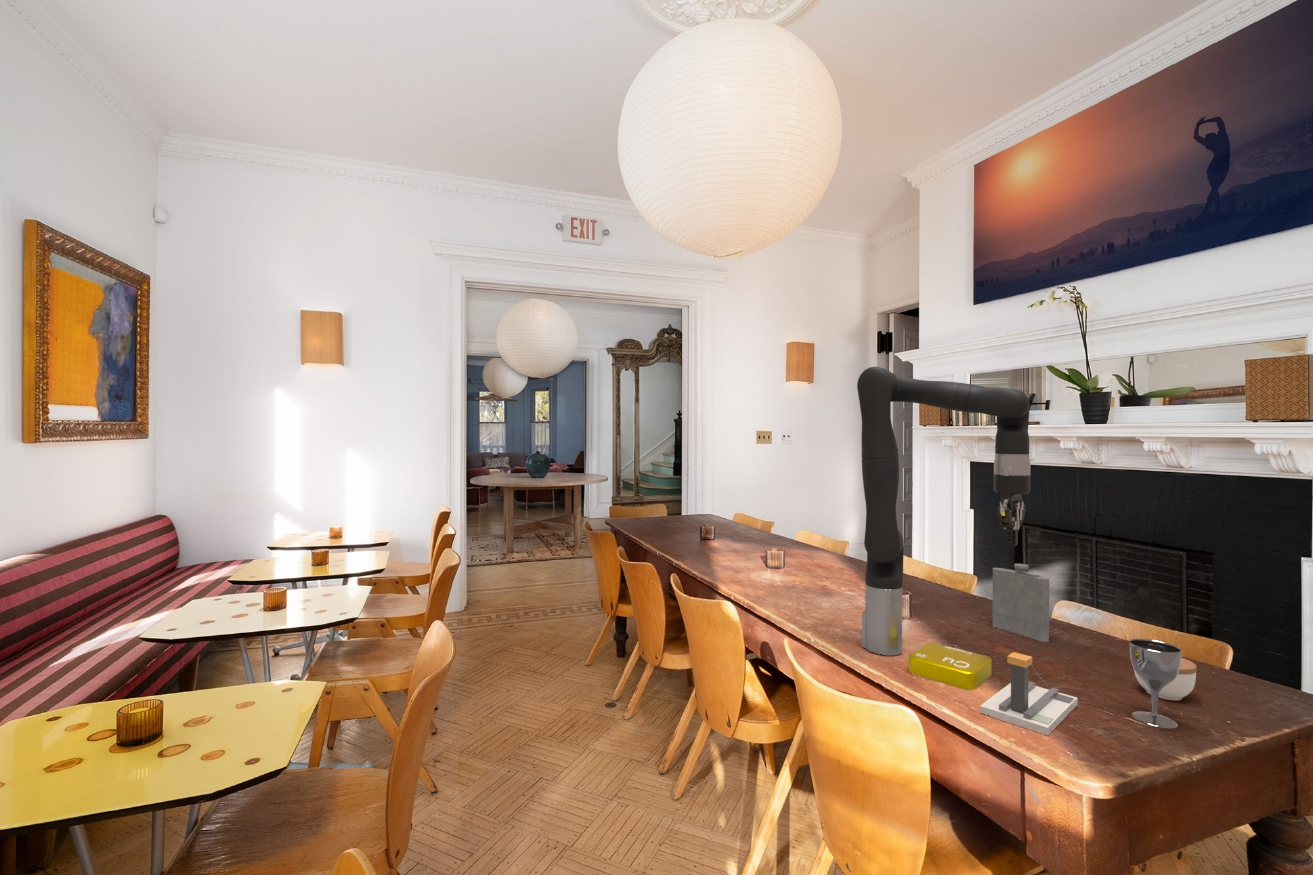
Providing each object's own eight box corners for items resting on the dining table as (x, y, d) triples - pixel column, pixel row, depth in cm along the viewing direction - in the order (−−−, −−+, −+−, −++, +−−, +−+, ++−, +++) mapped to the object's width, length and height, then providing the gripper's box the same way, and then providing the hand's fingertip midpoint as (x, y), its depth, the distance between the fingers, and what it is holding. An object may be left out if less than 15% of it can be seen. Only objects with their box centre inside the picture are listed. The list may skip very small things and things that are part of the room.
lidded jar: (1120, 683, 135) (1120, 643, 135) (1168, 684, 135) (1168, 644, 135) (1158, 704, 125) (1159, 660, 125) (1210, 706, 124) (1210, 661, 124)
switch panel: (980, 713, 120) (980, 700, 120) (1014, 686, 133) (1014, 675, 133) (1047, 735, 111) (1047, 722, 111) (1077, 704, 124) (1077, 693, 124)
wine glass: (1118, 711, 122) (1119, 638, 122) (1154, 709, 122) (1154, 638, 122) (1154, 730, 114) (1155, 652, 114) (1192, 728, 114) (1192, 651, 114)
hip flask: (990, 626, 177) (990, 559, 177) (998, 624, 179) (999, 558, 179) (1044, 642, 163) (1044, 570, 163) (1053, 640, 164) (1053, 569, 164)
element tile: (994, 675, 141) (994, 655, 141) (972, 693, 131) (972, 672, 131) (929, 657, 152) (930, 639, 152) (905, 673, 141) (905, 654, 141)
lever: (1007, 708, 118) (1007, 656, 119) (1013, 703, 121) (1013, 652, 121) (1026, 714, 116) (1026, 660, 116) (1031, 709, 118) (1032, 656, 118)
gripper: (1004, 471, 148) (1004, 540, 147) (984, 473, 139) (983, 546, 139) (1038, 472, 142) (1038, 544, 142) (1019, 474, 133) (1019, 551, 133)
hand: (1011, 545), depth 140 cm, fingers closed
